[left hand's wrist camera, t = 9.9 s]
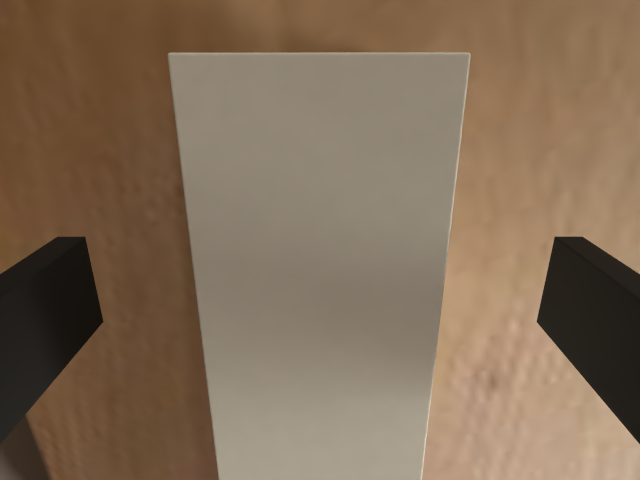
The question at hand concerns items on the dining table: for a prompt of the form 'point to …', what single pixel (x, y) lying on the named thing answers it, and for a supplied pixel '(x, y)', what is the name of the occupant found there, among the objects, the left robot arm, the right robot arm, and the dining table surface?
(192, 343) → the dining table surface
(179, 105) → the beam
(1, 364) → the left robot arm
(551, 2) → the dining table surface
